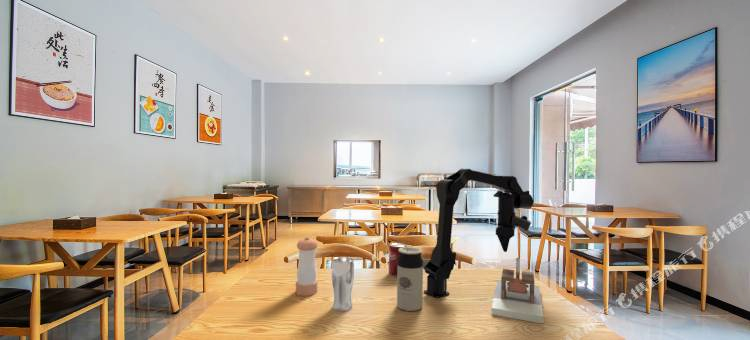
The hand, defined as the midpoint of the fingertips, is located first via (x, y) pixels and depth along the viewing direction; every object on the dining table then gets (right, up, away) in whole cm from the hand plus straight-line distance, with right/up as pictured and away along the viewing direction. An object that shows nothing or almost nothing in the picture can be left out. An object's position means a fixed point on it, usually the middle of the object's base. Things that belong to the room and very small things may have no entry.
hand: (505, 250), depth 128 cm
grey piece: (-2, -11, -15) cm, 19 cm away
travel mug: (-38, -13, -21) cm, 45 cm away
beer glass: (-59, -13, -22) cm, 64 cm away
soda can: (-40, -13, +11) cm, 43 cm away
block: (-2, -11, -16) cm, 20 cm away
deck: (-2, -13, -16) cm, 21 cm away
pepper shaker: (-73, -12, -10) cm, 75 cm away
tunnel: (-2, -11, -16) cm, 20 cm away
